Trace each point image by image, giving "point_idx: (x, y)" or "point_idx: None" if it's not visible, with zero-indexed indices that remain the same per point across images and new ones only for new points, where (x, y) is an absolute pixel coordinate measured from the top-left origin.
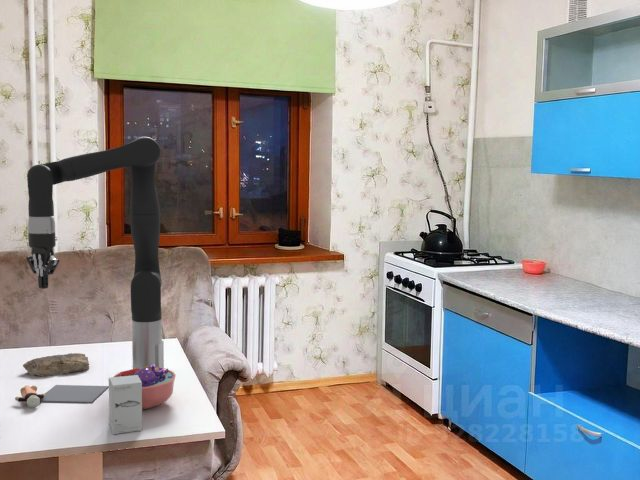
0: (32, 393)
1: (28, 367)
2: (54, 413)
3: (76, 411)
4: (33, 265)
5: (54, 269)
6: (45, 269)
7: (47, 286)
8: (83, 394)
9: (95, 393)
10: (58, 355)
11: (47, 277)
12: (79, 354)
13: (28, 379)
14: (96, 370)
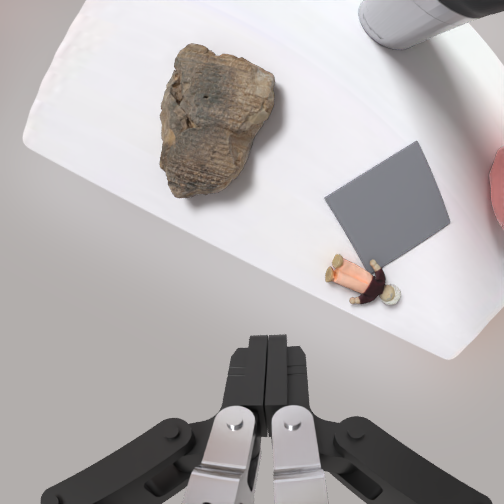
0: (372, 286)
1: (194, 192)
2: (430, 282)
3: (451, 258)
4: (163, 498)
5: (410, 454)
6: (352, 489)
7: (300, 349)
8: (415, 205)
9: (429, 188)
10: (179, 107)
11: (309, 406)
12: (208, 62)
13: (231, 206)
14: (291, 68)
